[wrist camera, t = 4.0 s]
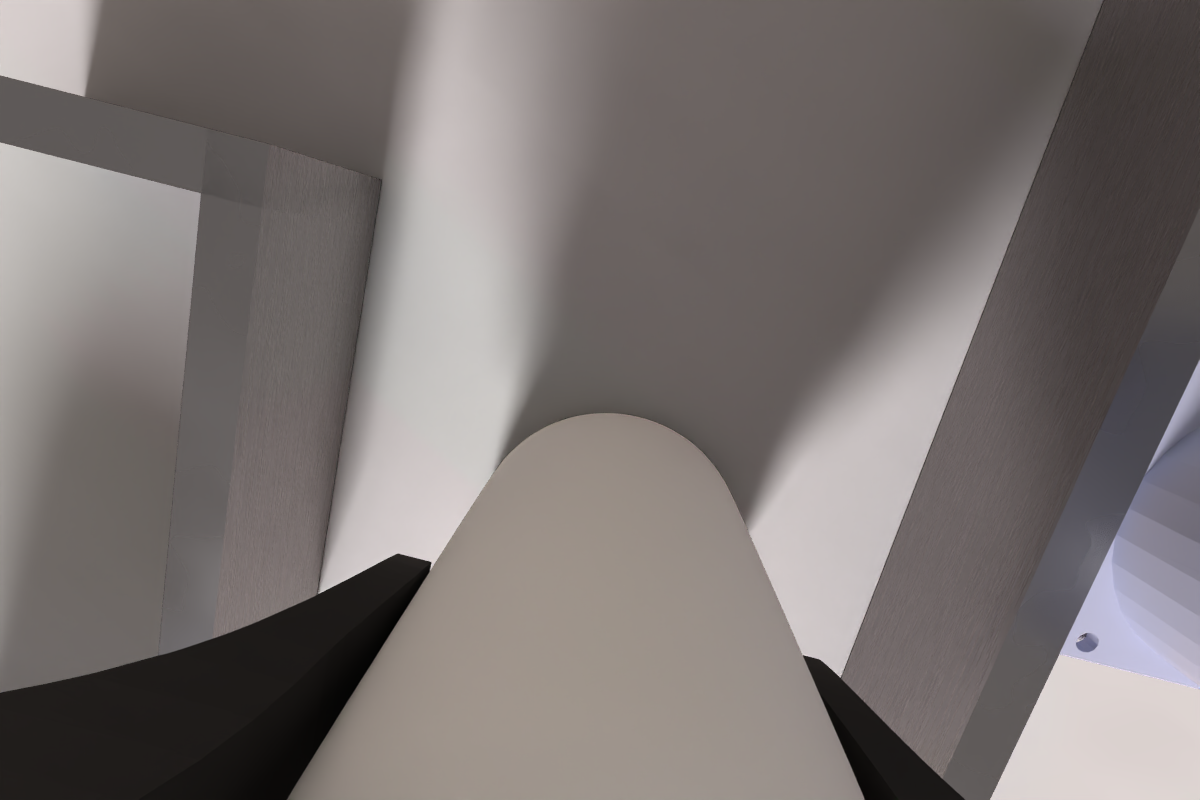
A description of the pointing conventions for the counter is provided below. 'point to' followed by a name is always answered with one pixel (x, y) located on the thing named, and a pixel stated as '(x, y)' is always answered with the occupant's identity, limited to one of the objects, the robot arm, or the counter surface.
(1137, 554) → the robot arm
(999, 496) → the rail channel
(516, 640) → the can
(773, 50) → the counter surface
